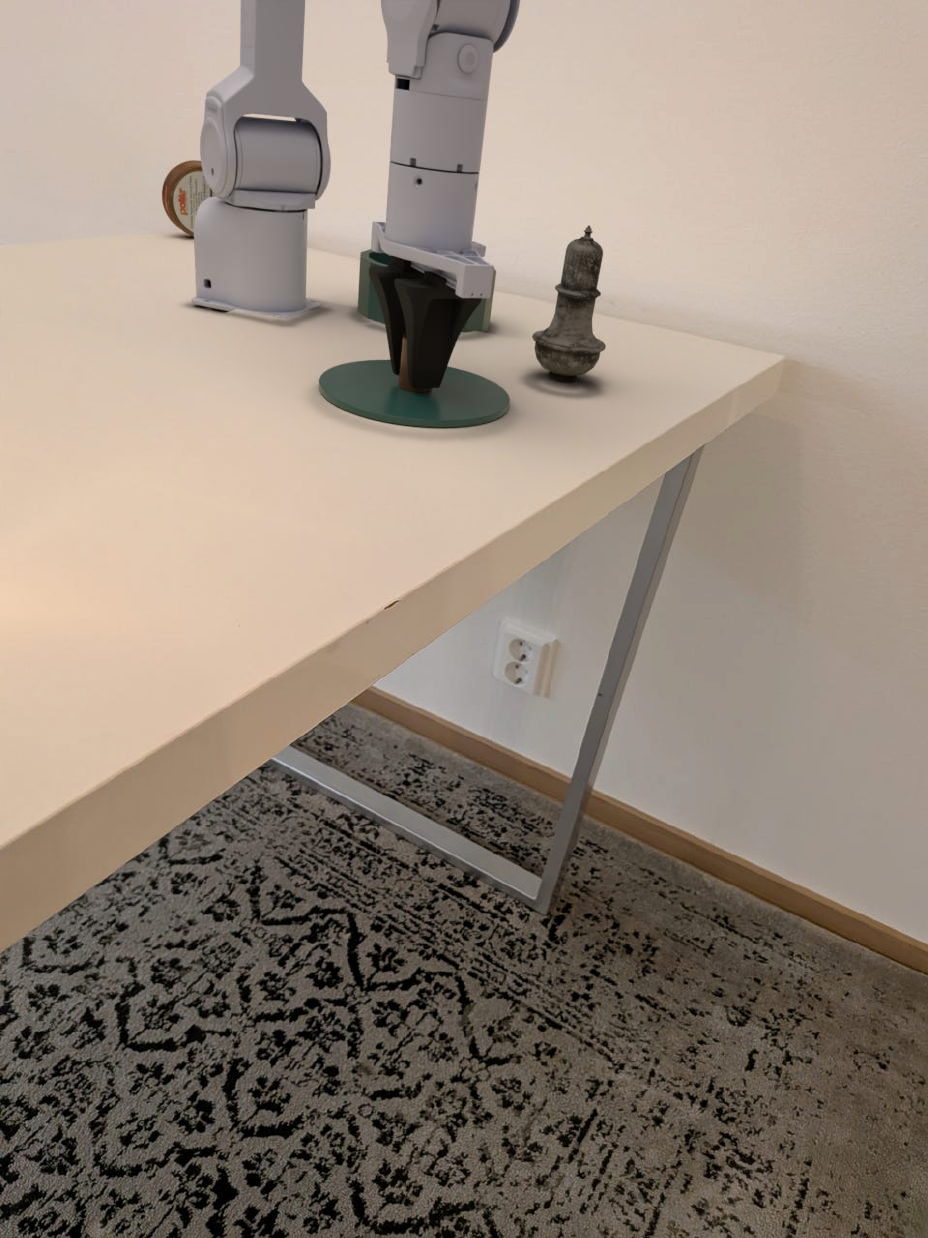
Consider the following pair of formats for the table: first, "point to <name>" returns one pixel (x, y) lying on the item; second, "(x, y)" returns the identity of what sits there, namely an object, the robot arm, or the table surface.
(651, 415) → the table surface
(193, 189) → the tin
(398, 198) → the robot arm
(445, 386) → the lid
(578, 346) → the salt shaker
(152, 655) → the table surface
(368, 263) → the canister
